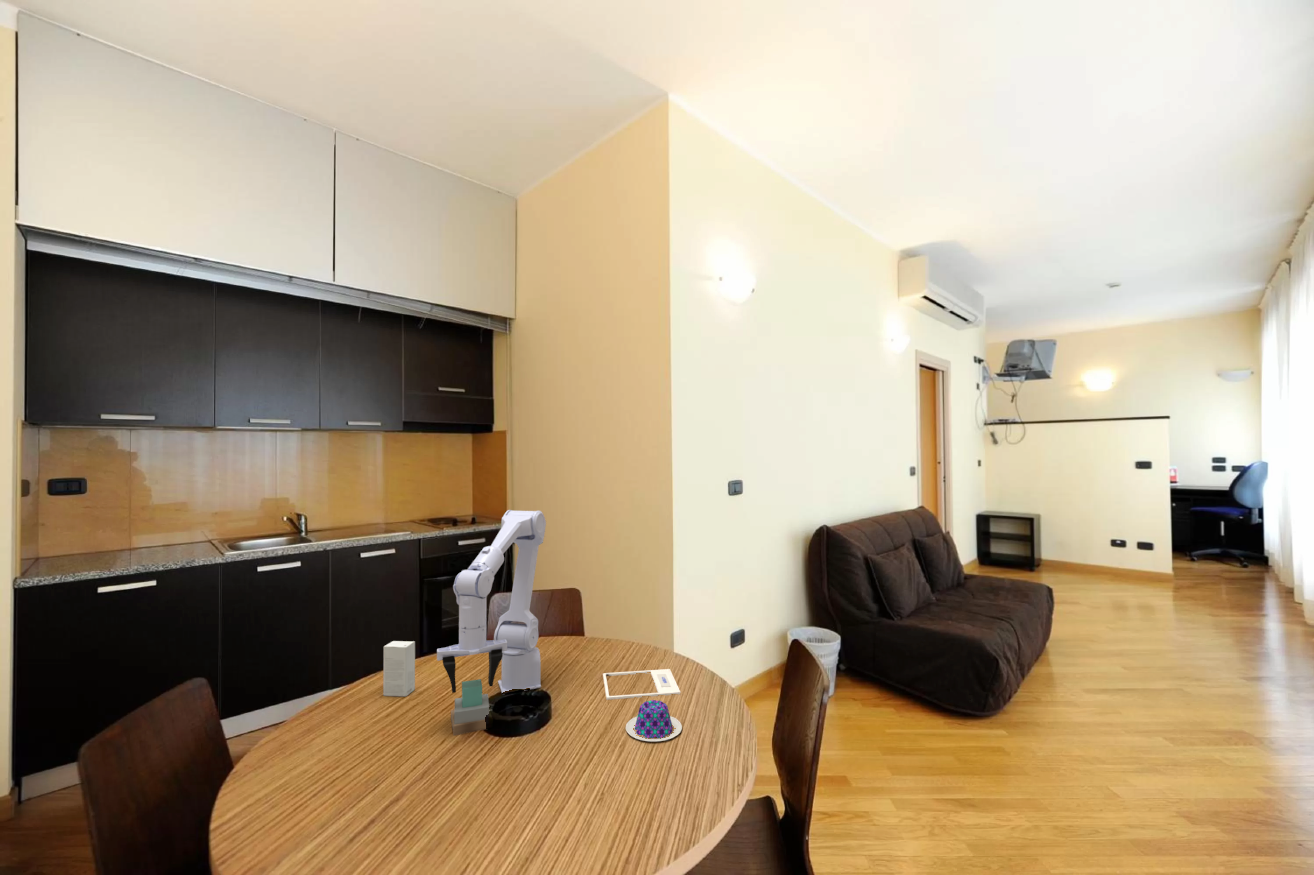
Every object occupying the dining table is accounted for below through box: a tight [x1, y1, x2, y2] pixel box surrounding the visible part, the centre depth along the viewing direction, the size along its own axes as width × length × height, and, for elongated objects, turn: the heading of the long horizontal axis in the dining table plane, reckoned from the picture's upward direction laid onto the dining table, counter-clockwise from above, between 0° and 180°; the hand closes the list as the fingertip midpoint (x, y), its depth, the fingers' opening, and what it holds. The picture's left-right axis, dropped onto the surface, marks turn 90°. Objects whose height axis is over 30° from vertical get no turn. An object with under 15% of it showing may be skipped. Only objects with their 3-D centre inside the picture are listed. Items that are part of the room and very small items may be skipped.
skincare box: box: [382, 640, 416, 697], centre depth 135 cm, size 6×4×12 cm
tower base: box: [450, 709, 487, 737], centre depth 119 cm, size 8×8×2 cm
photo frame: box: [602, 668, 681, 701], centre depth 139 cm, size 15×1×18 cm
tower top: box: [453, 693, 490, 724], centre depth 120 cm, size 7×7×2 cm
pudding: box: [625, 699, 683, 742], centre depth 117 cm, size 12×12×5 cm
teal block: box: [461, 678, 483, 708], centre depth 120 cm, size 4×4×4 cm
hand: (472, 687), depth 120 cm, fingers open, 7 cm apart
